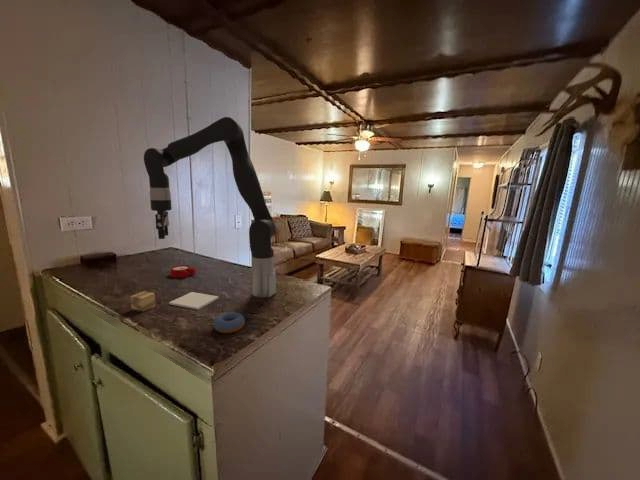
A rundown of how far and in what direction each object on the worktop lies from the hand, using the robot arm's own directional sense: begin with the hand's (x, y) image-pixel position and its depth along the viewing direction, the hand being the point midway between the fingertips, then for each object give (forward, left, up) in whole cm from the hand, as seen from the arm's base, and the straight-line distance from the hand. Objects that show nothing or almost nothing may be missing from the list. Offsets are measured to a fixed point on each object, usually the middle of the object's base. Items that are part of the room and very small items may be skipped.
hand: (163, 237), depth 118 cm
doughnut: (-45, +18, -25) cm, 54 cm away
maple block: (-6, +17, -25) cm, 30 cm away
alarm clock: (+11, -20, -25) cm, 34 cm away
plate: (-19, +5, -24) cm, 31 cm away
